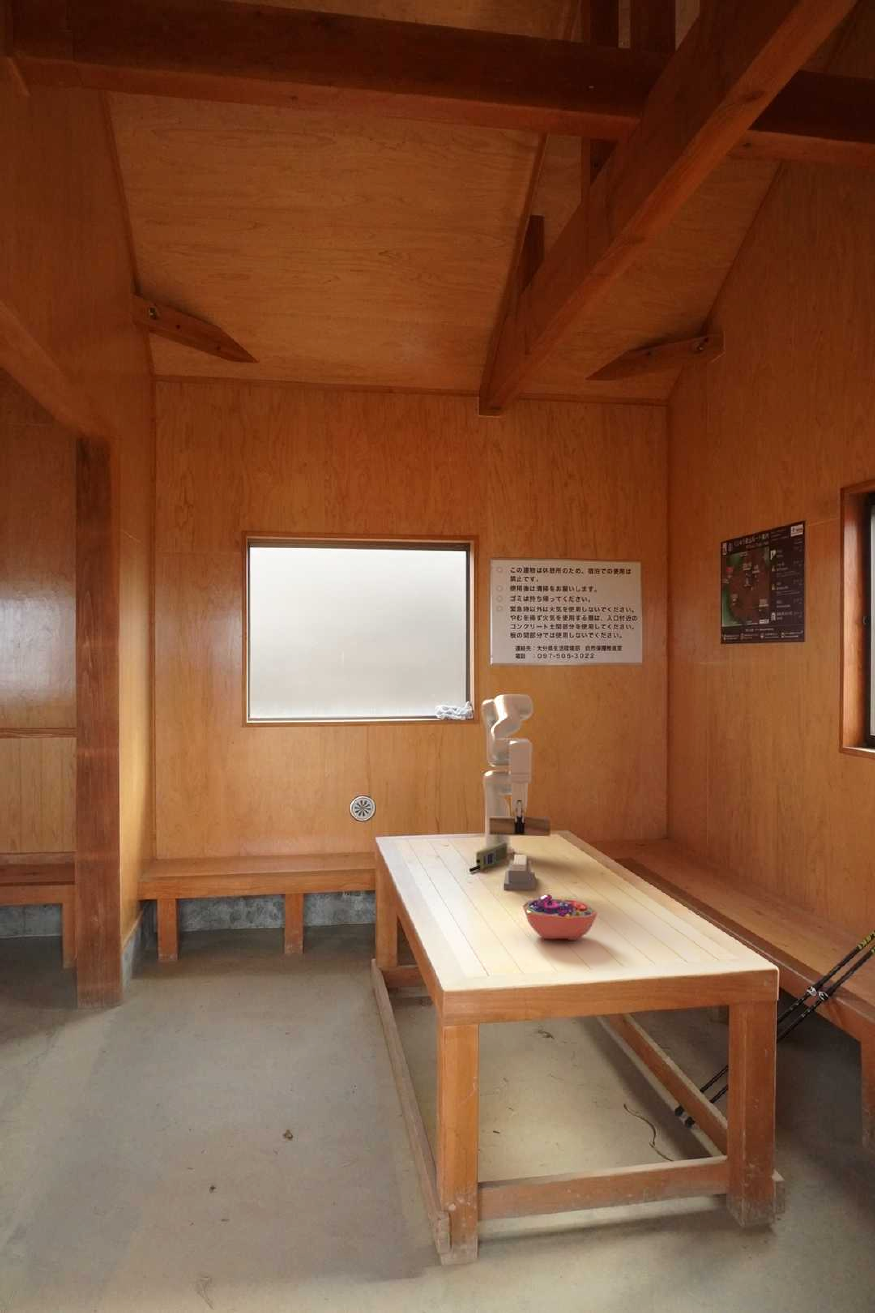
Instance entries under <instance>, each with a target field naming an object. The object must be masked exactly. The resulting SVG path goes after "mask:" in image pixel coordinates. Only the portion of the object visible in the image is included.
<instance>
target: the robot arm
mask: <svg viewBox="0 0 875 1313" xmlns="http://www.w3.org/2000/svg"><path fill="white" fill-rule="evenodd" d="M480 710H481V712H480V713H481V717H482V720H483V724H484V727H485V730H486V759H487V763H488V765H490V766H491V767H496V768H497V767H499V768H503V767H504V768H505V767H507V768H508V769H495V770H494V769H493V770H489V771H487V772H485V773H484V775H483V777H482V783H483V784H482V785H483V792H484V803H485V805H484V808H485V809H484V811H485V812H484V815H485V816H484V818H485V820H484V822H485V824H484V826H485V827H484V828H485V830H484V831H485V832H484V833H485V834H484V835H485V836H484V837H485V838H484V839H485V840H484V841H485V842H484V843H485V845H484V846H482V847H481V849H480V850H483V849H485V848H488V847H490V846H493V845H496V844H498V843H501V842H506V843H507V855H510V854H511V855H512V854H513V853H514V847H513V846H511V845H510V844H511V842H510V840H511V839H510V838H511V835H491V834H490V816H509V817H511V815H510V814H511V813H515V816H514V817H515V834H524V823H525V822H524V817H525V813H526V812H527V805H528V789H529V788H528V787H529V784H530V783H532V754H533V744H532V743H531V740H529V739H528V738H526V737H510V736H512V735H514V734H516V733H517V732H518V731H519V730H520V729H521V726H522V722H524V721H526V720H527V719H529V718H530V717H532V715H533V711H534V703H533V700H532V698H531V696H530V695H528V694H515V693H514V694H512V693H511V694H508V693H507V694H501V695H498V696H496V697H495V698H494V699H493V698H492V699H486V700H484V701H483V702H482V703H481V709H480ZM509 795H510V798H511V799H510V800H511V801H510V803H511V804H509V802H508V801H507V800H506V799H505V798H504V796H509ZM510 805H511V806H510Z"/></svg>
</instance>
